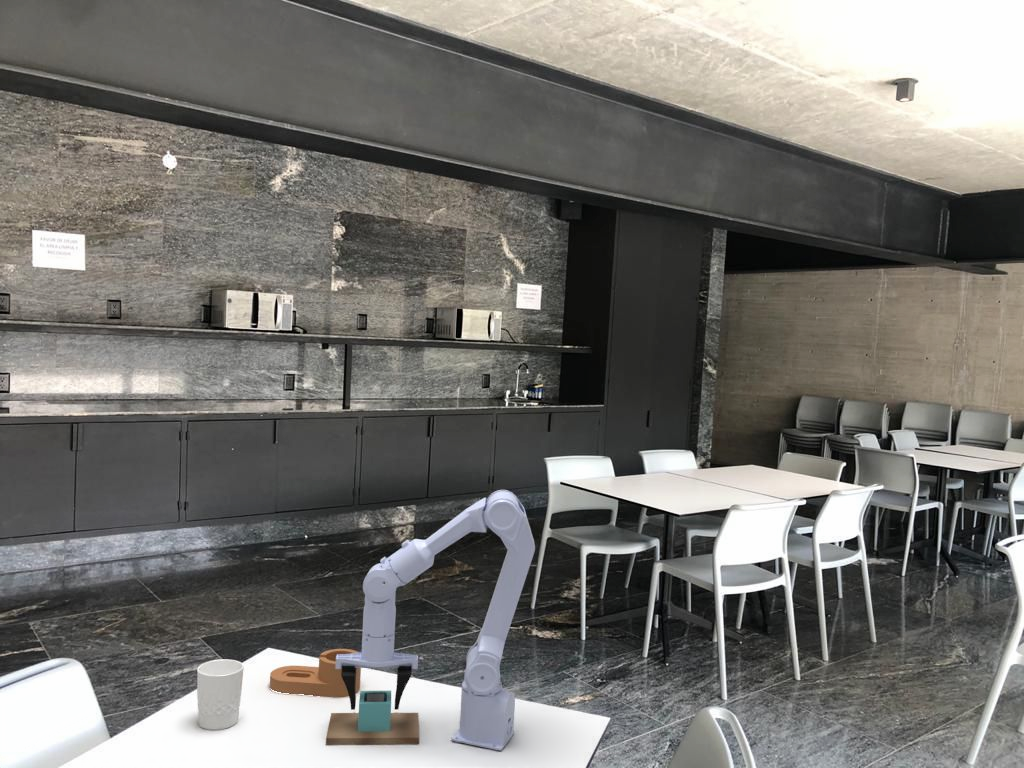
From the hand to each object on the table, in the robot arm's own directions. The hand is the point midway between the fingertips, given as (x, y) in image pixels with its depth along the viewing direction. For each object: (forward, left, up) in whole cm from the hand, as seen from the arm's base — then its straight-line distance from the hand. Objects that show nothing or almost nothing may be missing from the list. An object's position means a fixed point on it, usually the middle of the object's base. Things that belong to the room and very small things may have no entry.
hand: (374, 707), depth 147 cm
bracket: (+20, -13, -5) cm, 24 cm away
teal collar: (0, 0, -3) cm, 3 cm away
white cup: (+27, +8, -5) cm, 29 cm away
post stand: (0, 0, -4) cm, 4 cm away
